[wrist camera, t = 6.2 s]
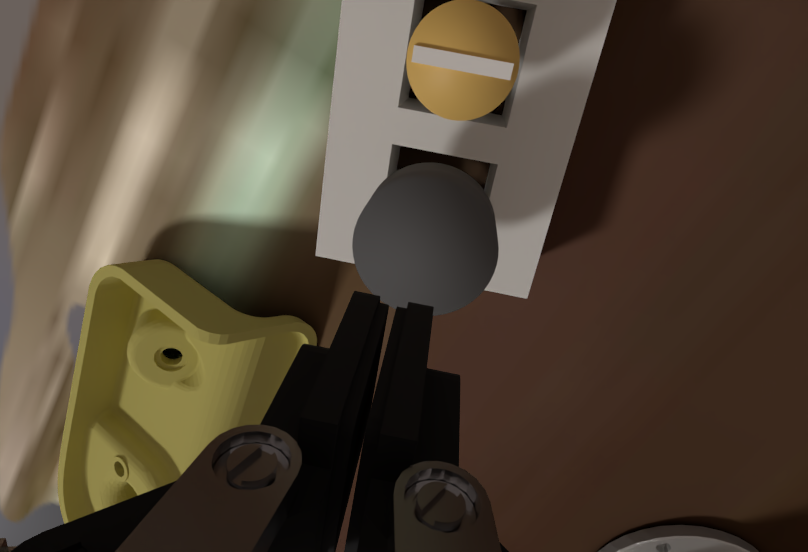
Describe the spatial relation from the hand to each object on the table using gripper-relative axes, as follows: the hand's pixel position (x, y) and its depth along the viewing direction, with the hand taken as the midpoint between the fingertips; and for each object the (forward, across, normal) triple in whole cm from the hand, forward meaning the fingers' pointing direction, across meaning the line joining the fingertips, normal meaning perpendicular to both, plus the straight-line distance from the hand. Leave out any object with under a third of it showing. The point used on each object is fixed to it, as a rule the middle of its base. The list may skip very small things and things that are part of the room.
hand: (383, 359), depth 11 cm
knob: (+14, 0, +1) cm, 14 cm away
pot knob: (+14, 0, -5) cm, 15 cm away
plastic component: (+17, +13, +18) cm, 28 cm away
